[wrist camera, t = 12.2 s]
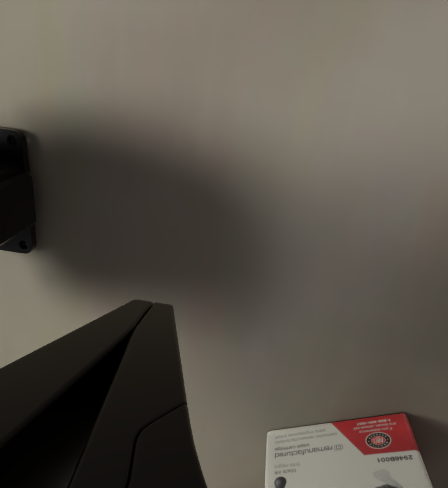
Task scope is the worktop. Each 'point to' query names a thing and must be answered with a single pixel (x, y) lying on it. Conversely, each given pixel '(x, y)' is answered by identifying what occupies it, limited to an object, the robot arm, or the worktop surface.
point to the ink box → (346, 455)
